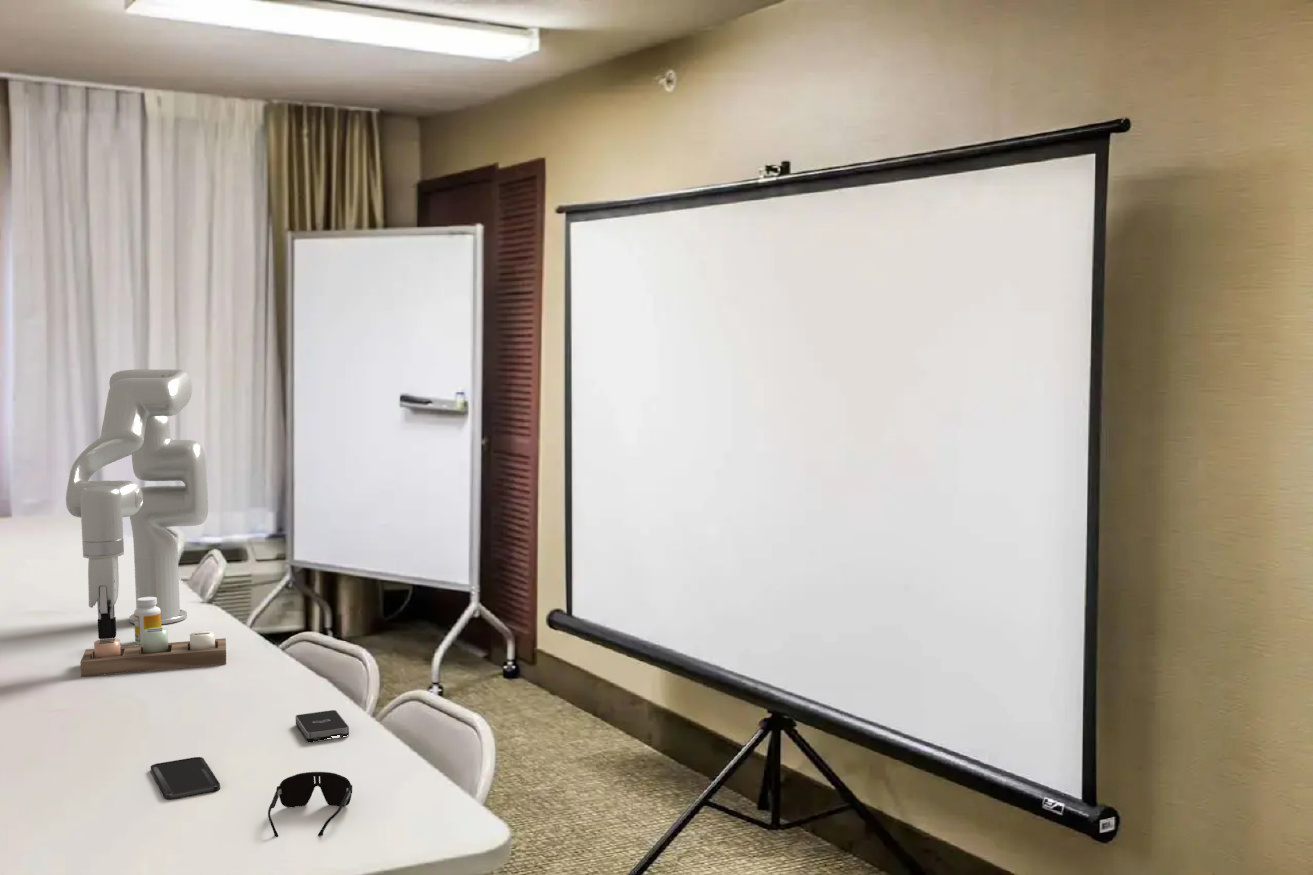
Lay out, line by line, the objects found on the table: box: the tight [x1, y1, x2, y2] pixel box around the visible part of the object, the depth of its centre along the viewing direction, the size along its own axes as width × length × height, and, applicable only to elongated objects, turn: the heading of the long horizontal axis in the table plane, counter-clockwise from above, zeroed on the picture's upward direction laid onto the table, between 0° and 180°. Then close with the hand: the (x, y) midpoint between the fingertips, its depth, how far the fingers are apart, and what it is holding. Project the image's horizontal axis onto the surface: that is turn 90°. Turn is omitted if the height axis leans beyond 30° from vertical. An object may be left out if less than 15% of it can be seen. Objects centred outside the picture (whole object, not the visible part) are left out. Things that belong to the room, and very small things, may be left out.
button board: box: [79, 637, 227, 677], centre depth 251 cm, size 10×27×3 cm, turn 109°
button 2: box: [142, 627, 169, 653], centre depth 251 cm, size 5×5×4 cm
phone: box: [150, 756, 221, 801], centre depth 186 cm, size 8×1×15 cm
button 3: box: [93, 637, 121, 658], centre depth 248 cm, size 5×5×4 cm
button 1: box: [189, 630, 216, 650], centre depth 254 cm, size 5×5×4 cm
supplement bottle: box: [133, 597, 162, 645], centre depth 269 cm, size 5×5×10 cm
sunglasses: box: [267, 771, 353, 838], centre depth 170 cm, size 10×12×5 cm
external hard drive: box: [295, 709, 350, 743], centre depth 209 cm, size 7×11×2 cm, turn 27°
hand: (107, 637), depth 248 cm, fingers closed
